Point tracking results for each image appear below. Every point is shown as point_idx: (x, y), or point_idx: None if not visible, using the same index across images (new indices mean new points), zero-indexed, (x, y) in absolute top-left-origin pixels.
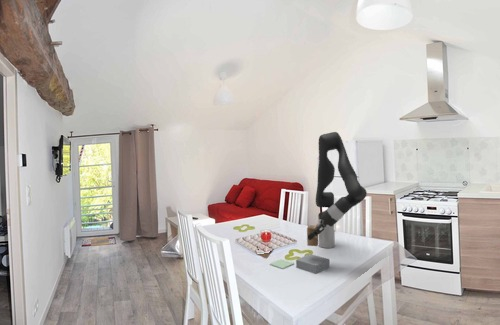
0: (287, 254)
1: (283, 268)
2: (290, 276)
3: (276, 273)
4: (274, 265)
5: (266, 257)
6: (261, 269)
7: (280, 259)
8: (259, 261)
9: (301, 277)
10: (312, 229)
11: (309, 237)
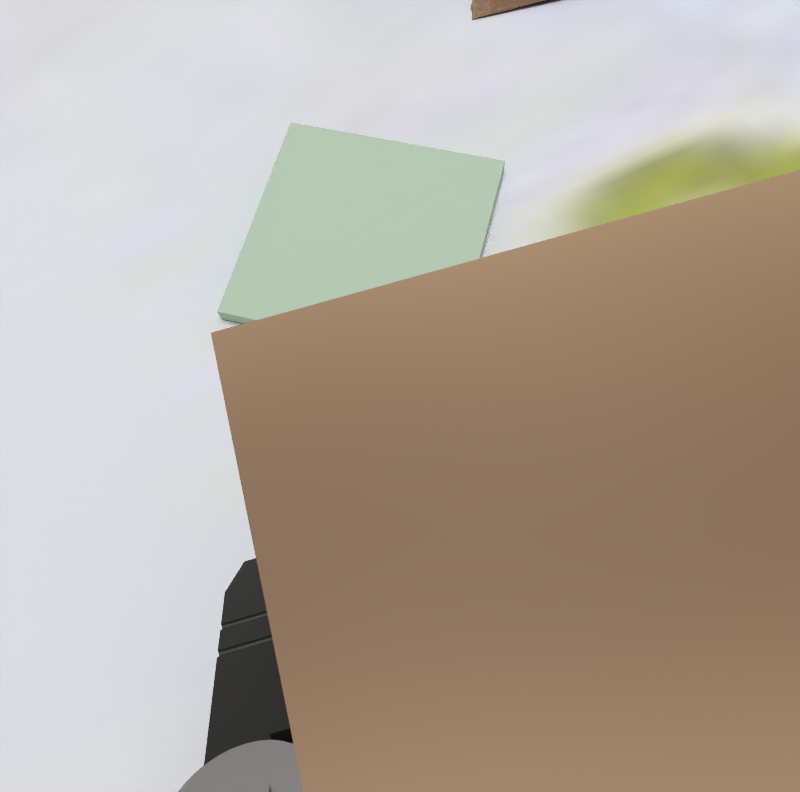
0: (759, 145)
1: (233, 319)
2: (27, 504)
3: (65, 313)
4: (265, 190)
5: (495, 3)
6: (122, 125)
7: (491, 161)
8: (342, 3)
9: (39, 656)
10: (323, 761)
11: (238, 623)
